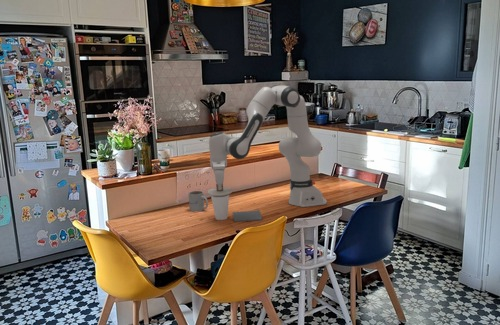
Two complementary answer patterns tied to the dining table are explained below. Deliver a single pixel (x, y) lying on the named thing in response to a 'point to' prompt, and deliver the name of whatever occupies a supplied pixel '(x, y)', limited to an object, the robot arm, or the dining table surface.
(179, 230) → the dining table surface
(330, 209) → the dining table surface
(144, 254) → the dining table surface
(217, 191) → the lid
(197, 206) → the mug
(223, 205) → the foam cup
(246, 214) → the mat
